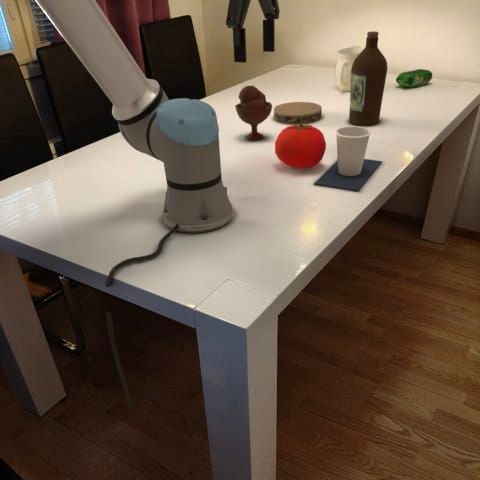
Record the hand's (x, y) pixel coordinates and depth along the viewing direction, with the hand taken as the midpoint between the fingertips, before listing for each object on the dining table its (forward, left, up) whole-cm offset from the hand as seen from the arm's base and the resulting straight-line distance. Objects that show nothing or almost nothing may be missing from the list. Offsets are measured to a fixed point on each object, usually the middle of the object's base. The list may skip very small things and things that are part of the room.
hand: (255, 56), depth 113 cm
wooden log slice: (+46, +8, -27) cm, 53 cm away
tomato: (+5, -10, -27) cm, 29 cm away
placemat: (+5, -23, -26) cm, 36 cm away
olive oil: (+48, -14, -27) cm, 56 cm away
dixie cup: (+5, -23, -26) cm, 35 cm away
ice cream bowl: (+22, +12, -27) cm, 36 cm away
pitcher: (+86, +4, -27) cm, 90 cm away
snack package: (+99, -18, -27) cm, 104 cm away
